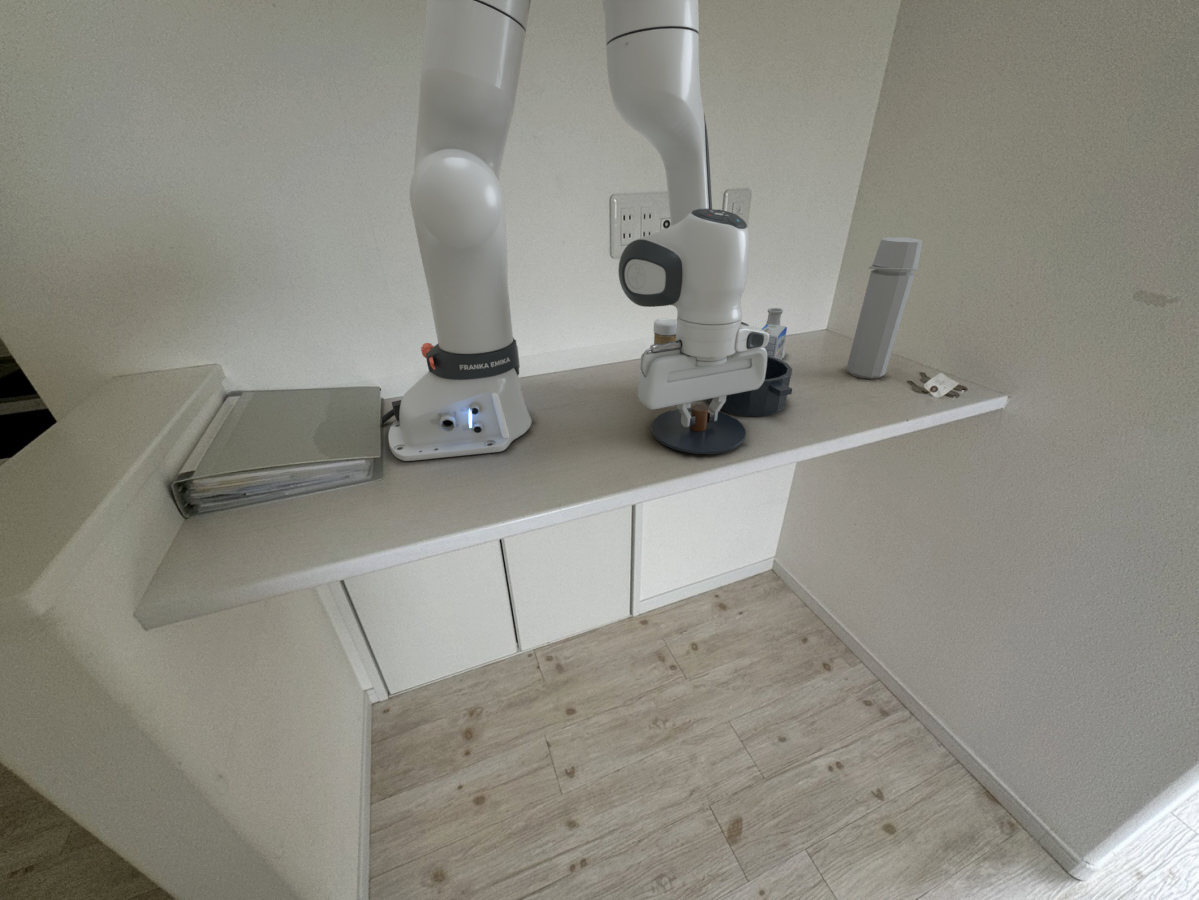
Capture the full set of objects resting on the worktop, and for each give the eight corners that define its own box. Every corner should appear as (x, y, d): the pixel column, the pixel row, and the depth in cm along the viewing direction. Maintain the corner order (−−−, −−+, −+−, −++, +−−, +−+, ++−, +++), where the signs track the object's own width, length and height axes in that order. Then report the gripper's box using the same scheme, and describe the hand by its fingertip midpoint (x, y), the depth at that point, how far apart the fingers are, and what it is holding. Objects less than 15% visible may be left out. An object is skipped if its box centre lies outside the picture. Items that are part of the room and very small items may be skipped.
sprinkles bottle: (654, 385, 95) (658, 316, 89) (678, 389, 94) (683, 318, 87) (647, 394, 92) (650, 322, 85) (671, 398, 90) (676, 325, 83)
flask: (781, 349, 113) (789, 305, 108) (788, 360, 106) (797, 314, 101) (748, 349, 113) (755, 305, 108) (754, 360, 107) (761, 313, 102)
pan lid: (680, 466, 70) (683, 437, 68) (635, 423, 82) (636, 397, 80) (764, 445, 75) (769, 418, 73) (710, 407, 87) (713, 383, 84)
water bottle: (892, 381, 96) (934, 242, 83) (849, 379, 97) (884, 242, 84) (876, 364, 104) (913, 235, 91) (837, 363, 105) (867, 235, 92)
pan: (745, 429, 80) (751, 392, 76) (685, 386, 95) (688, 354, 92) (813, 414, 84) (821, 379, 81) (745, 376, 99) (749, 344, 96)
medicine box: (771, 380, 97) (778, 336, 93) (748, 376, 99) (755, 333, 95) (780, 367, 103) (788, 326, 99) (759, 363, 105) (765, 323, 101)
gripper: (652, 353, 65) (648, 445, 72) (779, 333, 71) (764, 419, 78) (631, 339, 70) (630, 426, 77) (752, 322, 76) (740, 404, 83)
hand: (698, 422), depth 77 cm, fingers closed on pan lid, 3 cm apart
